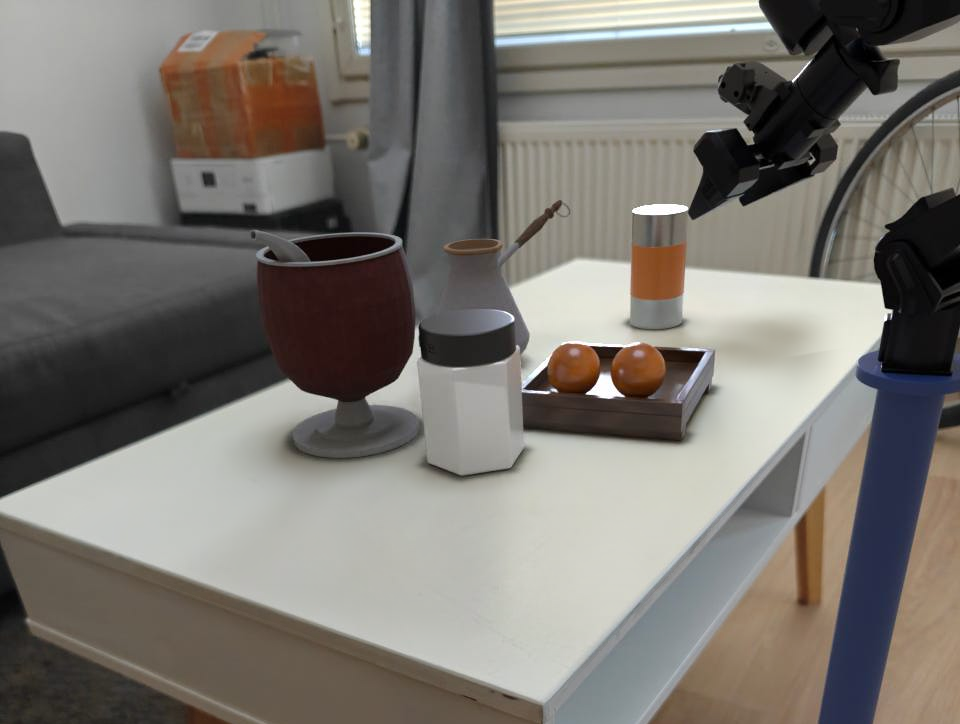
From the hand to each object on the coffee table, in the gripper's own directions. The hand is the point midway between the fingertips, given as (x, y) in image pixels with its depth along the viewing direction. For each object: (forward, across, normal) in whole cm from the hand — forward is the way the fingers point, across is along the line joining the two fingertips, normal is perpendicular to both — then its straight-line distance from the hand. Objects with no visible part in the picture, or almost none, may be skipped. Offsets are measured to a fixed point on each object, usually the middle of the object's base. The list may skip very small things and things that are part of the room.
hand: (716, 209), depth 103 cm
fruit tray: (+4, +26, +15) cm, 30 cm away
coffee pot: (+20, +20, 0) cm, 28 cm away
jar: (+5, +43, +14) cm, 46 cm away
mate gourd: (+14, +47, +5) cm, 50 cm away
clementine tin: (+15, 0, +4) cm, 16 cm away
